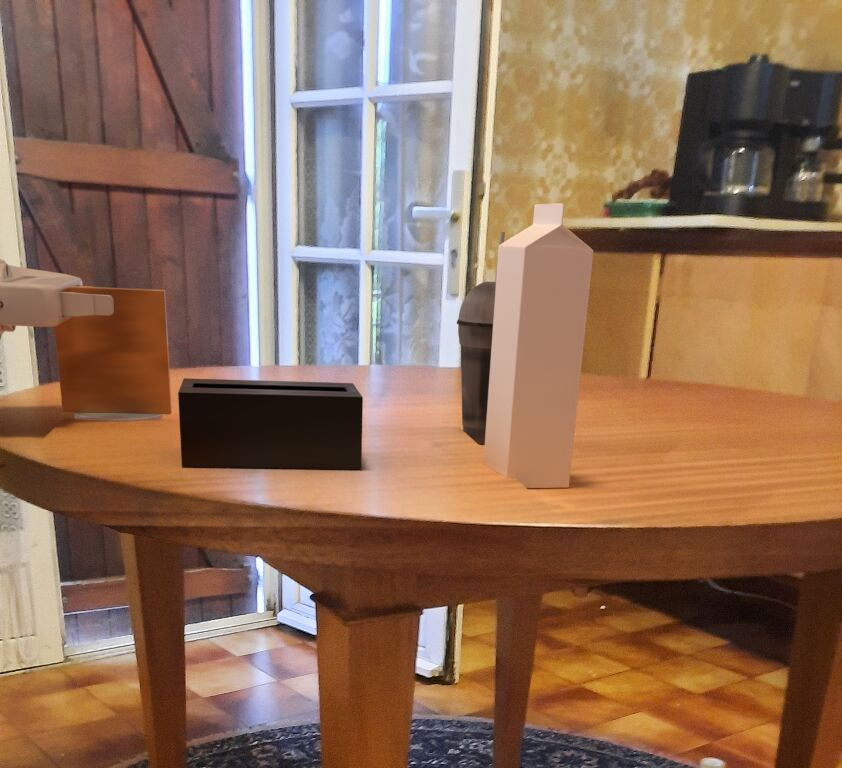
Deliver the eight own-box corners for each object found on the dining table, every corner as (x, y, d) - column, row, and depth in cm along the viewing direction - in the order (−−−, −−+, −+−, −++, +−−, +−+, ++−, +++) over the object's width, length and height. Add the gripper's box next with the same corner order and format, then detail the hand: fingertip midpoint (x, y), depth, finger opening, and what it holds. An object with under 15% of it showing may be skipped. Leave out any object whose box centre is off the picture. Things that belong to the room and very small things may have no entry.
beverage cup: (440, 442, 111) (451, 229, 103) (463, 432, 118) (476, 230, 109) (506, 449, 109) (523, 232, 100) (527, 439, 115) (544, 234, 107)
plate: (78, 431, 107) (77, 419, 107) (71, 417, 115) (70, 406, 114) (169, 430, 110) (168, 418, 110) (156, 416, 118) (155, 405, 117)
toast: (62, 411, 111) (50, 285, 105) (64, 409, 112) (52, 285, 107) (171, 414, 112) (164, 290, 107) (171, 412, 114) (165, 289, 109)
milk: (505, 489, 92) (527, 201, 82) (481, 475, 97) (499, 202, 87) (570, 488, 93) (599, 205, 84) (543, 473, 98) (567, 205, 89)
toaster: (182, 479, 89) (177, 391, 86) (187, 458, 97) (183, 378, 94) (361, 481, 92) (362, 396, 88) (351, 461, 100) (352, 383, 96)
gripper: (-56, 264, 95) (104, 271, 97) (-8, 258, 113) (126, 264, 115) (-46, 340, 98) (110, 345, 100) (-1, 322, 116) (130, 327, 118)
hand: (119, 302), depth 108 cm, fingers open, 8 cm apart
